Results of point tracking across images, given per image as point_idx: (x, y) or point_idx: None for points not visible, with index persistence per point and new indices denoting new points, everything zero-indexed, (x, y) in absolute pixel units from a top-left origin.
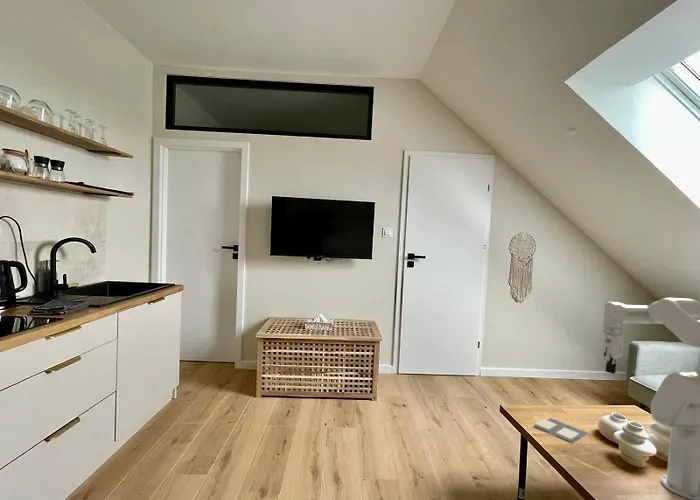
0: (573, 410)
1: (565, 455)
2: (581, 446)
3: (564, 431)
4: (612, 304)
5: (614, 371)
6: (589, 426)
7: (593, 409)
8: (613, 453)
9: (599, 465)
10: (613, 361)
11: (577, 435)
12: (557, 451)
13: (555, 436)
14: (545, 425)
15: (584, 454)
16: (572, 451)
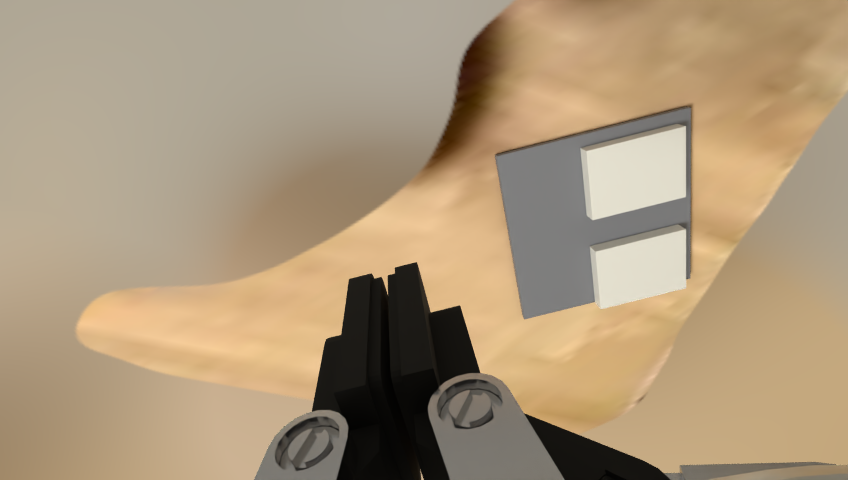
0: (304, 353)
1: (805, 55)
2: (647, 86)
3: (636, 190)
4: None
5: (406, 280)
6: (392, 215)
7: (173, 338)
8: None
9: None
10: (529, 444)
11: (608, 144)
12: (798, 94)
13: (689, 185)
14: (661, 260)
15: (715, 26)
16: (737, 68)
